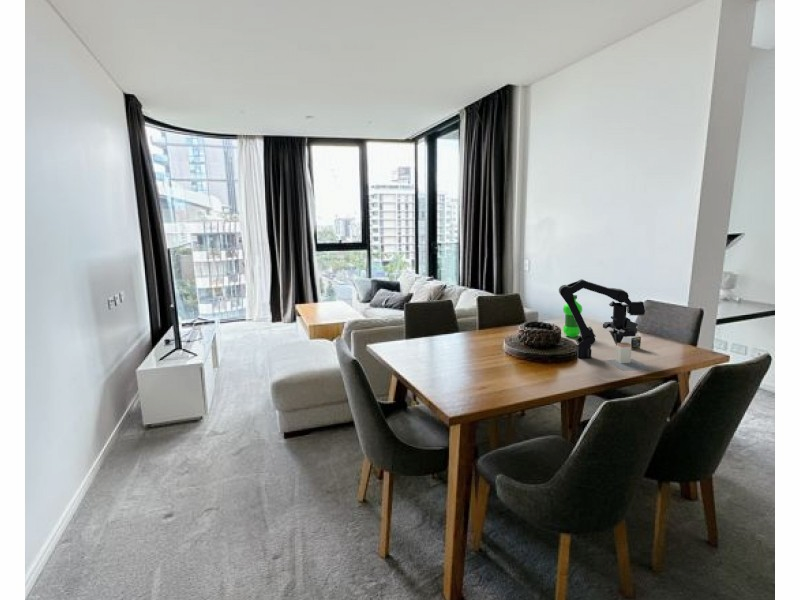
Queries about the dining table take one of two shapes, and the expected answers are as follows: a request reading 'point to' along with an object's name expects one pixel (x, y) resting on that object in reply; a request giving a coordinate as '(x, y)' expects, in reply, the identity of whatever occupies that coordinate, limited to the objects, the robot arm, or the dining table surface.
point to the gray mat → (629, 365)
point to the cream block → (623, 352)
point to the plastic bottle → (571, 320)
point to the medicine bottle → (633, 339)
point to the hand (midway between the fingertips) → (617, 345)
